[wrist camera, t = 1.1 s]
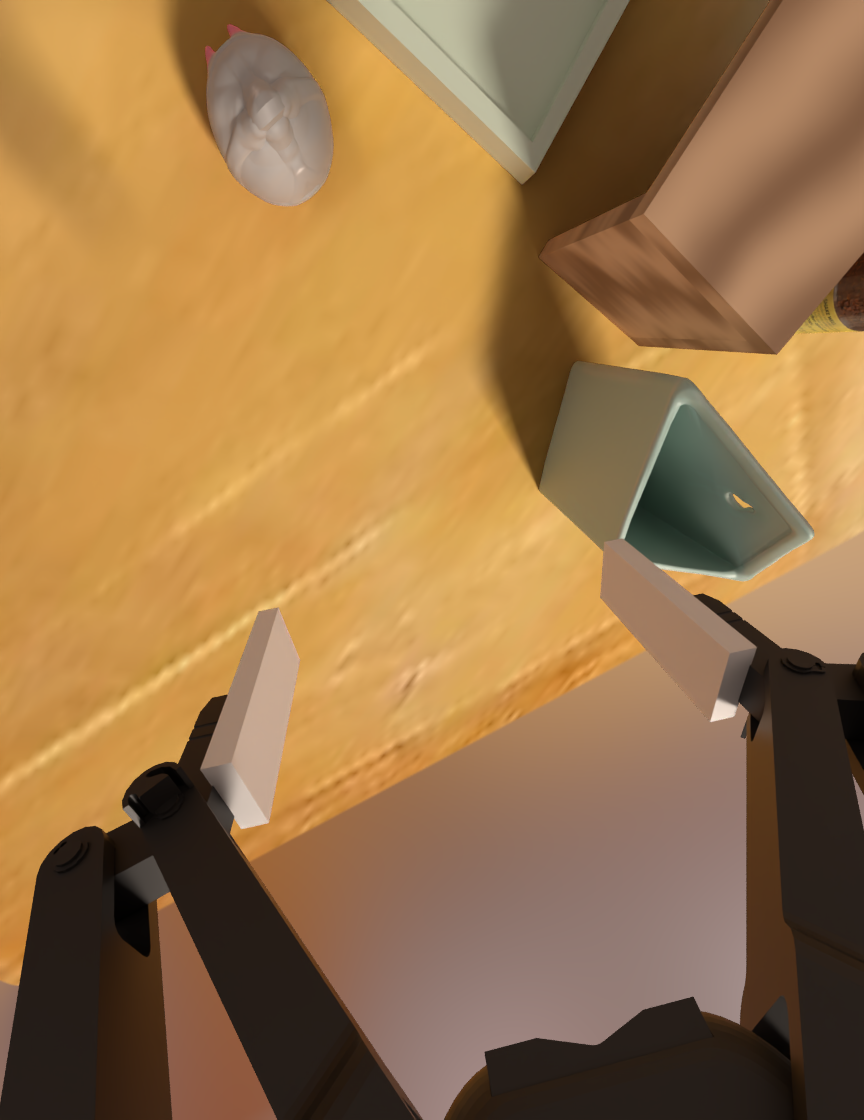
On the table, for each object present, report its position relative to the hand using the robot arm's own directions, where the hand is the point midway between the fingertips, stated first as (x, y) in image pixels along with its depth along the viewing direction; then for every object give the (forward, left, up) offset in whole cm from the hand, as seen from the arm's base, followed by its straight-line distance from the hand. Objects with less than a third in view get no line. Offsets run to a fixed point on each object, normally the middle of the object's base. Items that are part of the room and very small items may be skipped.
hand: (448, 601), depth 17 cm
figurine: (-16, +13, -22) cm, 30 cm away
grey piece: (+14, +7, -22) cm, 27 cm away
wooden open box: (+7, +26, -22) cm, 35 cm away
